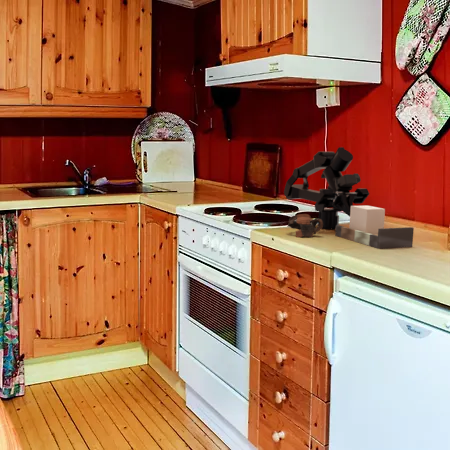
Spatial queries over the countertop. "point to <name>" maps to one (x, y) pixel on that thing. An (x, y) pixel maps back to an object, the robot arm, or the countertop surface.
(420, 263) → the countertop surface
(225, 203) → the countertop surface
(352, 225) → the block
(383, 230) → the box
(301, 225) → the pottery mug
